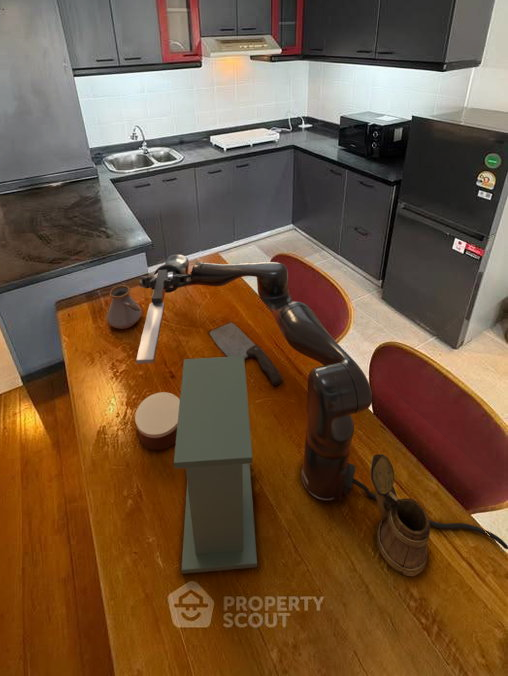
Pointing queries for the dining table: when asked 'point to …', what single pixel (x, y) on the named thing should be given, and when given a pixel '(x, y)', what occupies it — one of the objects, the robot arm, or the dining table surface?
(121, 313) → the coffee pot
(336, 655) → the dining table surface
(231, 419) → the display stand
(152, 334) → the knife
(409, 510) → the wooden mug
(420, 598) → the dining table surface
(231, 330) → the cleaver
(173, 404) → the cake
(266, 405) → the dining table surface
